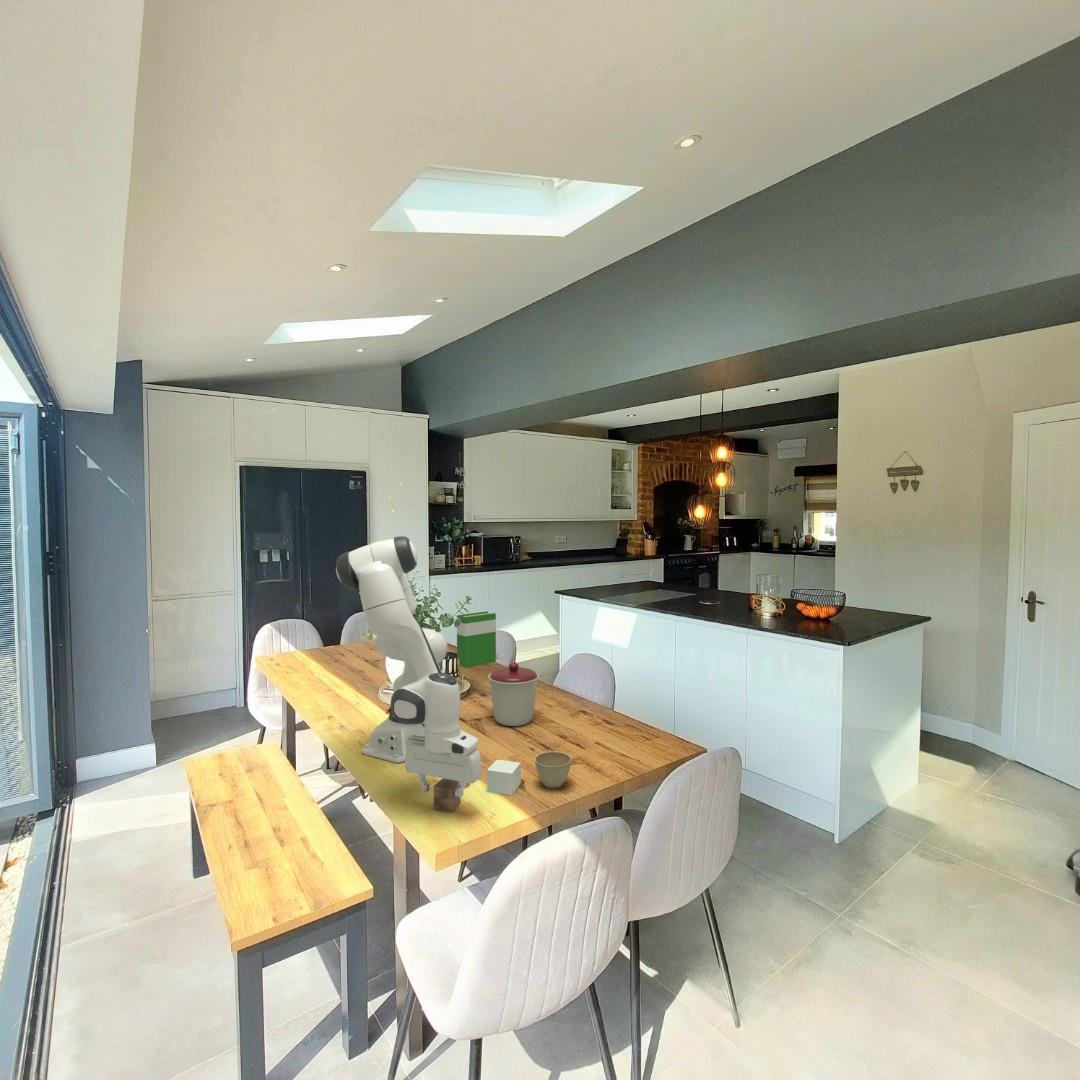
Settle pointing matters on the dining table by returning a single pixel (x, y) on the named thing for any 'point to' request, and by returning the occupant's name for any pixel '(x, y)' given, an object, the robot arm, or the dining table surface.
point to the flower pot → (553, 768)
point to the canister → (513, 694)
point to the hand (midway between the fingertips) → (442, 793)
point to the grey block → (503, 777)
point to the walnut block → (446, 795)
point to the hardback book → (476, 639)
